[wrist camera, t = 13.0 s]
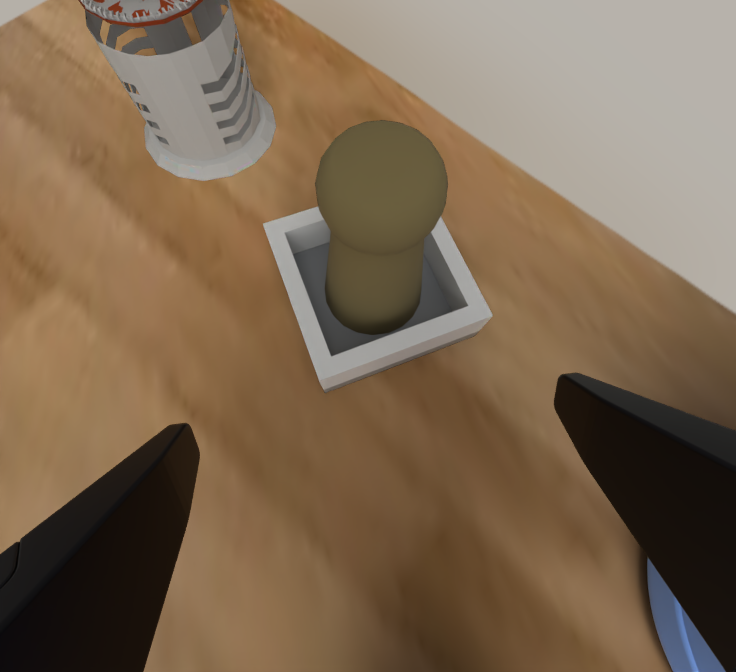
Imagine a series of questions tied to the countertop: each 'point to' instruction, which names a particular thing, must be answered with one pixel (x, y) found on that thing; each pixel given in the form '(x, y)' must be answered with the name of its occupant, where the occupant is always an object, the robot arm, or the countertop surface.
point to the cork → (378, 221)
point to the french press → (187, 85)
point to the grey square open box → (363, 351)
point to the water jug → (678, 630)
